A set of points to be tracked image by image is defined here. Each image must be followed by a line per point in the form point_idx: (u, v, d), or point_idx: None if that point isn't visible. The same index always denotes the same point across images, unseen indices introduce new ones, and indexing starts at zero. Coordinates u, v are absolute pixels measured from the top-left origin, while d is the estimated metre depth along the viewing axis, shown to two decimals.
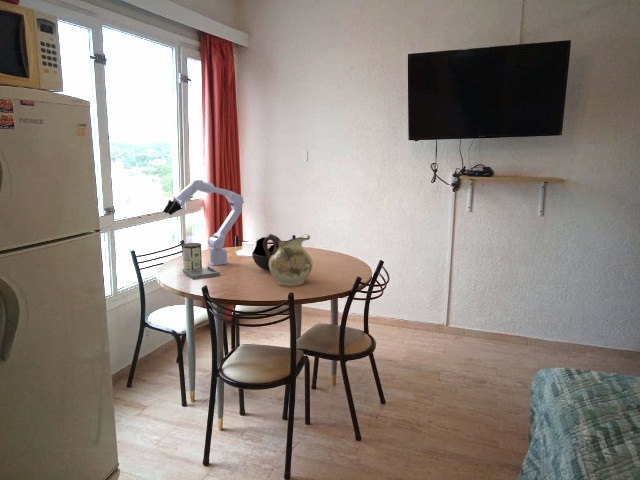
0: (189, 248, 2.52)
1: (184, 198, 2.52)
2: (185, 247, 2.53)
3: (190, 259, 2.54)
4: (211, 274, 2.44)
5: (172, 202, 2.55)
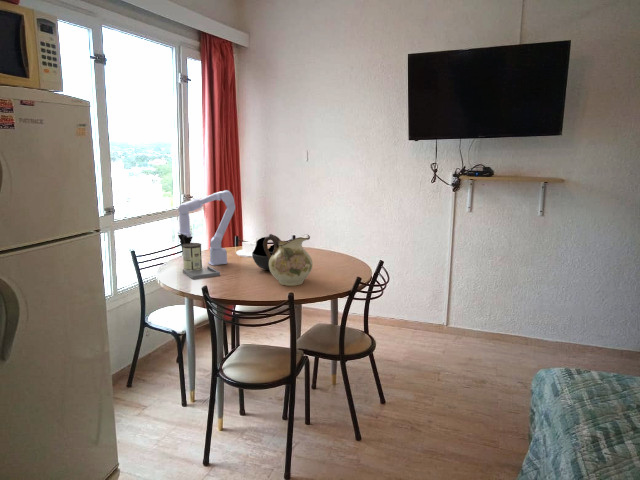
0: (189, 248, 2.52)
1: (186, 227, 2.62)
2: (185, 247, 2.53)
3: (190, 259, 2.54)
4: (211, 274, 2.44)
5: (181, 235, 2.67)
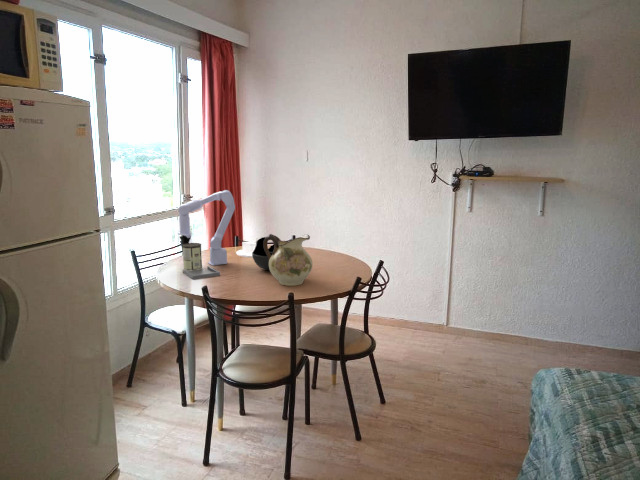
0: (189, 248, 2.52)
1: (186, 228, 2.62)
2: (185, 247, 2.53)
3: (190, 259, 2.54)
4: (211, 274, 2.44)
5: None
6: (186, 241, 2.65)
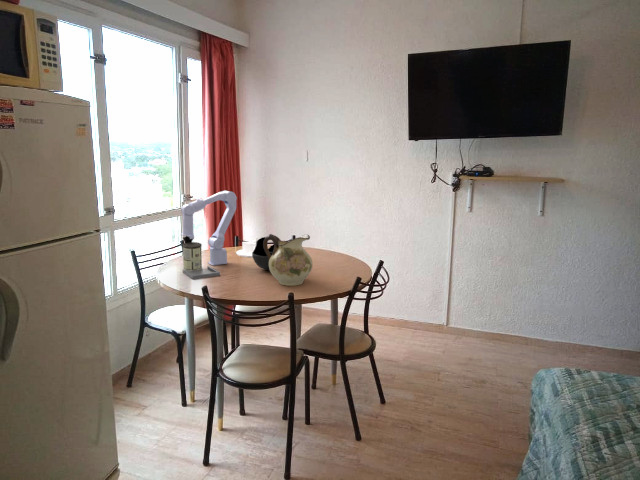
0: (190, 248, 2.51)
1: (190, 229, 2.57)
2: (186, 247, 2.52)
3: (190, 259, 2.53)
4: (211, 274, 2.44)
5: None
6: None
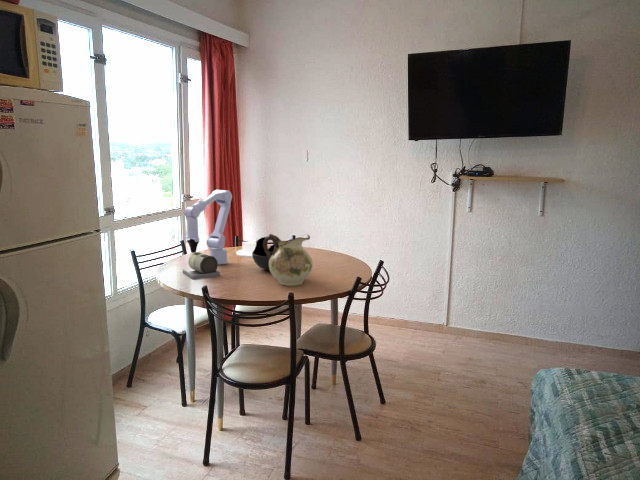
0: (202, 272, 2.45)
1: (194, 232, 2.51)
2: (200, 269, 2.43)
3: (197, 270, 2.49)
4: (211, 274, 2.44)
5: None
6: (194, 245, 2.55)
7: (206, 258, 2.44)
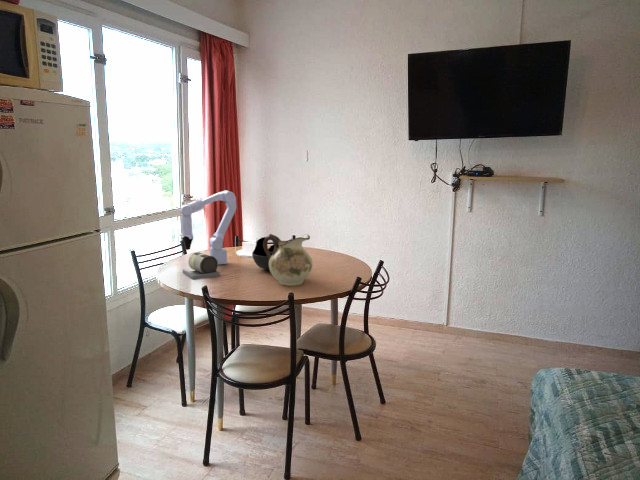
0: (202, 272, 2.45)
1: (188, 229, 2.59)
2: (200, 269, 2.43)
3: (197, 270, 2.49)
4: (211, 274, 2.44)
5: None
6: (188, 242, 2.62)
7: (206, 258, 2.44)
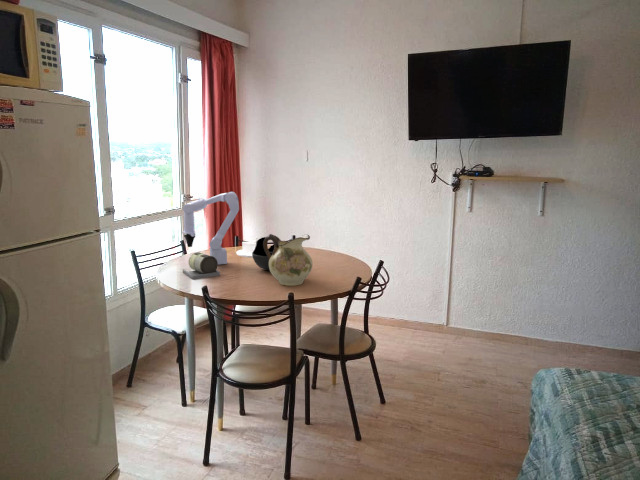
0: (202, 272, 2.45)
1: (191, 227, 2.64)
2: (200, 269, 2.43)
3: (197, 270, 2.49)
4: (211, 274, 2.44)
5: None
6: (190, 240, 2.67)
7: (206, 258, 2.44)
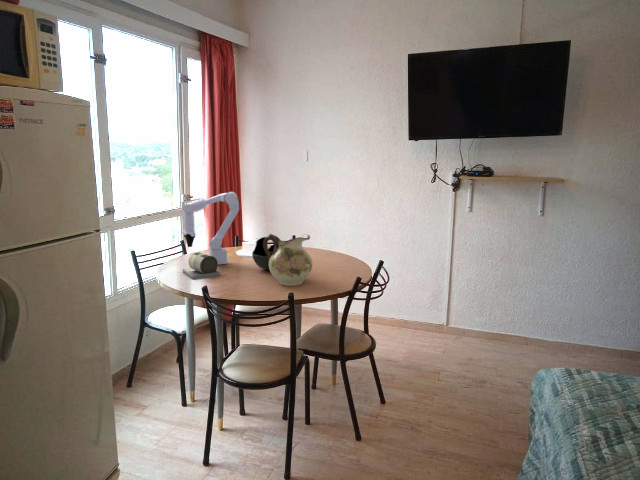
0: (202, 272, 2.45)
1: (191, 227, 2.64)
2: (200, 269, 2.43)
3: (197, 270, 2.49)
4: (211, 274, 2.44)
5: None
6: (190, 240, 2.67)
7: (206, 258, 2.44)
